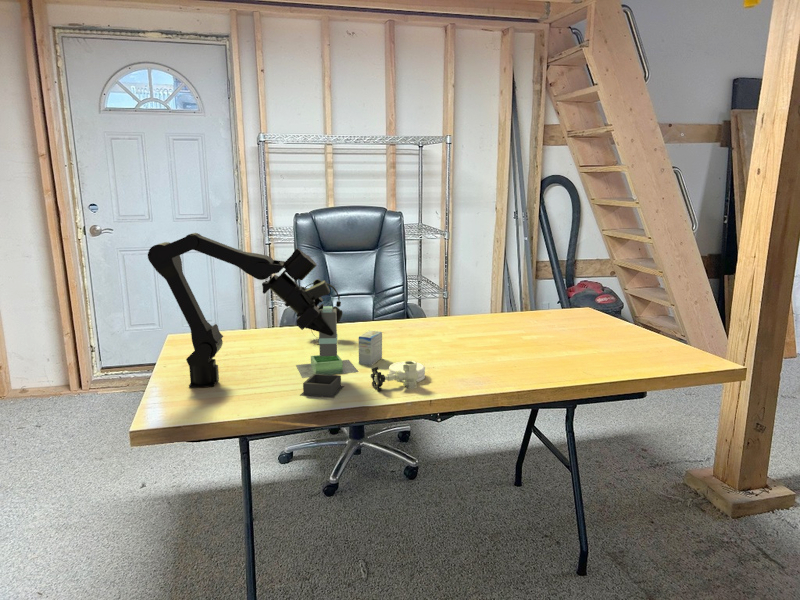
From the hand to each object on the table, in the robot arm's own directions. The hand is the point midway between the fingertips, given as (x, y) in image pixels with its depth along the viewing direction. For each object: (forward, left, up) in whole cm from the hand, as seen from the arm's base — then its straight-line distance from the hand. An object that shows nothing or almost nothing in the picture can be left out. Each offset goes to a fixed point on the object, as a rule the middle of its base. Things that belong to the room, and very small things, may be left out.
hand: (333, 332), depth 152 cm
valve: (+16, -9, -14) cm, 23 cm away
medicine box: (+11, +15, -14) cm, 23 cm away
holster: (-3, -10, -13) cm, 17 cm away
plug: (-1, 0, -6) cm, 6 cm away
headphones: (-5, +41, -14) cm, 44 cm away
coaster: (+20, -1, -14) cm, 24 cm away
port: (-2, +8, -13) cm, 16 cm away
